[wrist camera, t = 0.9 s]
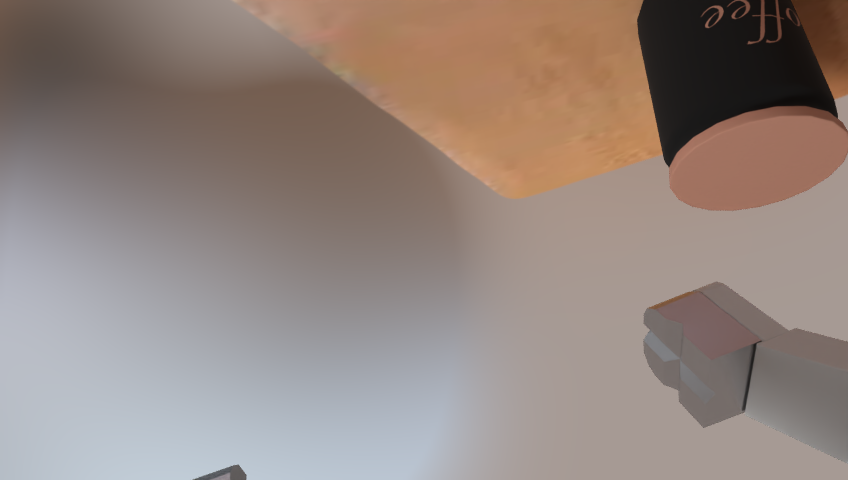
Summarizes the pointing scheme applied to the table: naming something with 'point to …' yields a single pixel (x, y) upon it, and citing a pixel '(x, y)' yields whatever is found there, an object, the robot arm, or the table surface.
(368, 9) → the table surface
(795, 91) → the coffee jar
